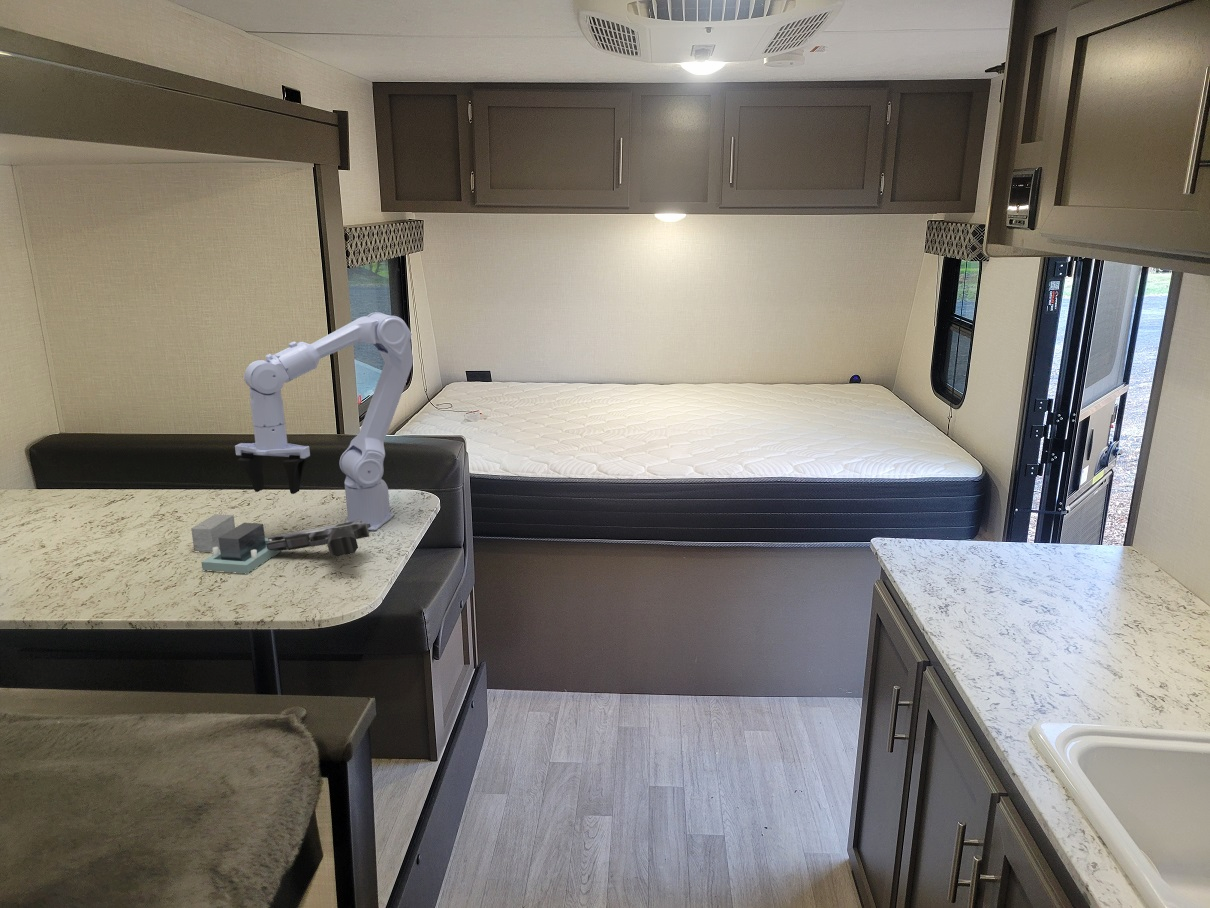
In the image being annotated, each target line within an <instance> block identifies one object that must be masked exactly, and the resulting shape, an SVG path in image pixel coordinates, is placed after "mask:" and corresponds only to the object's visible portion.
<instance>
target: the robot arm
mask: <svg viewBox="0 0 1210 908" xmlns="http://www.w3.org/2000/svg"><path fill="white" fill-rule="evenodd" d="M411 338H412V332H411V330H410V328H409V327H408V325H407V323H406V322H405V320H403V319H402V318H401V317H399V316H396V315H388V314H385V313H384V312H380V311H376V312H371V313H369V314H368V315H367V316H365V315H364V316H361V317H358V318H356V319H354V320H352V321H351V322H349V323H347V324H346V325H343V326H342V327H340V328H338V329H336V330H334V331H333V332H331V333H329V334H327V335H325V336H324V337H322V338H319V339H318V340H316V341H313V342H312V343H308V342H305V341H299V342H296V341H295V340H294V341H292V342H289V343H288V344H287V345H288V346H289V347H287V348H285V349H282V350H281V351H279V352H276V353H274V354H271V353H268V354H266V355H265V358H266V360H263V359H262V360H261V359H258V360H254V361H253V362H250V364H249V365H247V367H246V369H245V371H244V375H243V380H244V382H245V384H246V385H247V386H248V387H249V397H250V403H249V404H250V409H251V418H252V419H251V420H252V426H253V427H252V428H253V434H254V442H252V443H251V442H250V443H249V442H247V443H245V442H240V443H238V444H236V445H234V448H235V450H234V451H235V455H236V456H240V458H238V459H237V462H238V465H239V466H241V468H242V469H243V470H244V472H245V473H246V475H247V477H248V479H249V481H250V483H251V485H252V487H253V490H254V493H258V492H260V491H262V490H264V489H265V481H264V473H263V472H264V471H263V469H264V468H263V467H264V466H263V465H264V463H263V462H264V457H265V456H267V457H269V456H270V457H285V458H286V457H288V458H286V459H285V460H282V463H283V466H284V469H285V472H286V475H287V479H288V480H287V481H288V486H289V487H288V488H289V492H290V495H294V494H295V495H296V494H297V493H299V492H300V488H301V481H302V476H303V472H304V469H305V467H306V464H307V462H308V460H309V457H311V451H310V446H309V445H301V444H294V443H289V442H288V437H287V427H286V421H285V420H286V419H285V411H284V410H285V409H284V401H283V397H282V389H283V387H284V386H285V385H284V384H285V383H290V382H291V381H293V380H295V379H297V378H299V377H302V376H304V375H305V374H307V373H310V372H311V371H314V370H315V369H317V368H318V366H319V362H320V360H321V359H323V358H325V357H328V356H329V355H333V354H334V353H337V352H339V351H342V350H344V349H345V348H348V347H350V346H353V345H355V344H357V343H358V344H359V343H360V344H370V345H373V346H374V347H375V348H376V349H377V351H378V353H379V355H380V357H381V358H382V360H383V362H384V365H383V367H382V370H381V373H380V375H379V377H378V380H377V383H376V386H375V388H374V391H373V393H372V396H371V400H370V402H369V404H368V407H367V411H366V413H365V415H364V419H363V421H362V424H361V426H360V430H359V432H358V434H357V435H356V436H355V437H353V439H352V440H351V441H350V443H349V445H348V447H347V448H346V449H345V451H344V452H342V454H341V455H340V459H339V468H340V470H341V472H342V473H343V474H344V475H345V479H344V491H345V492H344V493H345V502H346V513H347V514H346V515H347V520H346V521H345V522H344V523H346V522H352V521H357V520H361V521H362V523H366V524H369V523H370V526H371V527H370V528H368V531H378V529H379V528H381V527H382V526H383V525H385V523H387V522H388V521H390V520H391V519H392V518H393V517H394V516H395V513H393V512H391V509H390V496H389V495H390V494H389V487H388V485H387V483H386V481H385V480H384V479H383V478H382V477H384V476H383V475H384V460H385V457H386V451H385V446H384V445H385V444H384V442H386V441H385V440H386V437H387V436H388V432H389V429H390V427H391V424H392V421H393V418H394V416H395V413H396V410H397V409H398V405H399V402H400V399H401V397H402V394H403V391H404V388H405V386H406V383H407V381H408V379H409V376H410V373H411V370H412V367H413V363H414V359H413V351H412V344H411Z"/></svg>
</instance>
